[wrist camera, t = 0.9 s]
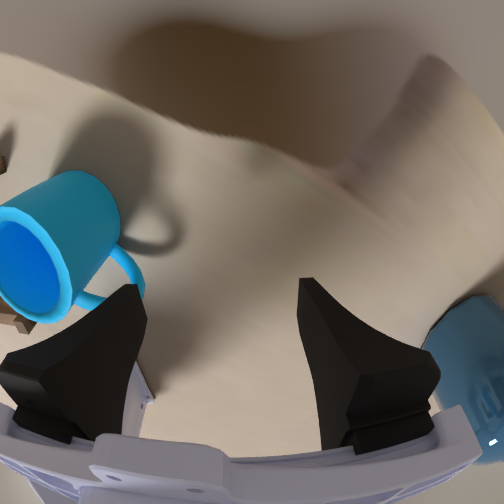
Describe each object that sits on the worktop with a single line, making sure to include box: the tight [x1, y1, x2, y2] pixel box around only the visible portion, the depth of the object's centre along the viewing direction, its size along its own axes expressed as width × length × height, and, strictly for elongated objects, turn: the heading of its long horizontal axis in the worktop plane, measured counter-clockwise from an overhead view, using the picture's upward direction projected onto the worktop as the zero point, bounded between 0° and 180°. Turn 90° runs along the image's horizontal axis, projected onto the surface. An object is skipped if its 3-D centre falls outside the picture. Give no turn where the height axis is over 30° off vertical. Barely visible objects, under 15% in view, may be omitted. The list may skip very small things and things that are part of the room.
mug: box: [0, 171, 145, 324], centre depth 17 cm, size 12×8×8 cm
